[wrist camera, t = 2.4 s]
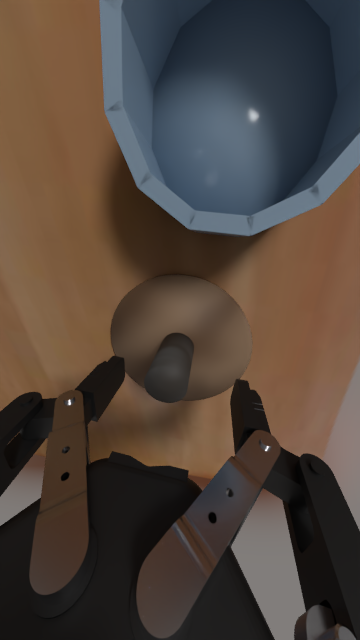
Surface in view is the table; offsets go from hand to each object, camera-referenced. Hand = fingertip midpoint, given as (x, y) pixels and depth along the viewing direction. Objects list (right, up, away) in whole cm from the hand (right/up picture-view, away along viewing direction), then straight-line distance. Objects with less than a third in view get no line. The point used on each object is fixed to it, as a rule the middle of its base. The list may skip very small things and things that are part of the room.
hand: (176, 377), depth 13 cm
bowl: (+3, +15, -2) cm, 16 cm away
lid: (0, +2, +5) cm, 5 cm away
